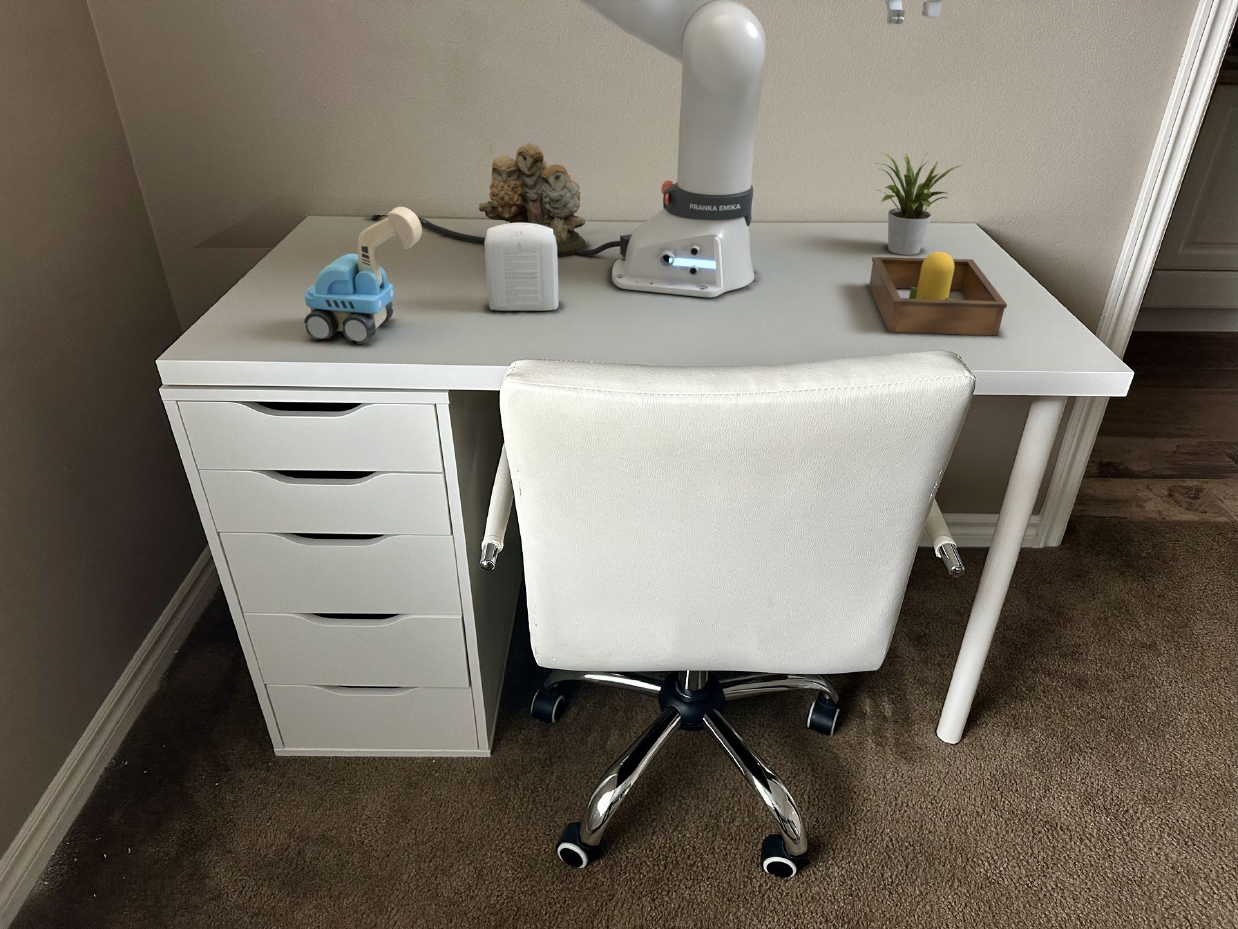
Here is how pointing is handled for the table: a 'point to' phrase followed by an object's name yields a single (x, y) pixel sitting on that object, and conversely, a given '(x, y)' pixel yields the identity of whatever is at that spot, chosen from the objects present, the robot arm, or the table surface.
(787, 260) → the table surface
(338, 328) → the toy excavator
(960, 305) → the wooden box
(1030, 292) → the table surface
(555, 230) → the owl figurine
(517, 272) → the white rounded block
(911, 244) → the house plant
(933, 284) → the corn plush toy
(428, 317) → the table surface
